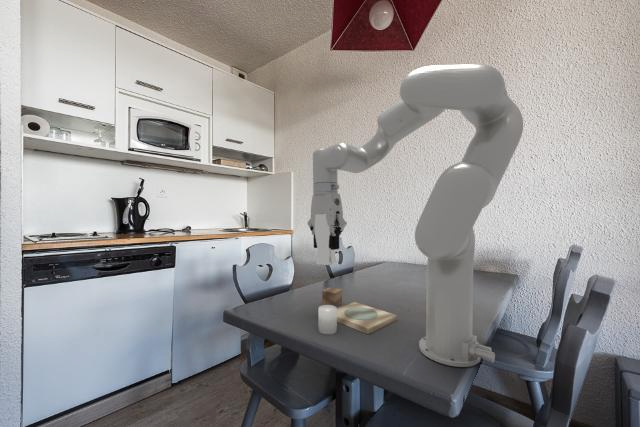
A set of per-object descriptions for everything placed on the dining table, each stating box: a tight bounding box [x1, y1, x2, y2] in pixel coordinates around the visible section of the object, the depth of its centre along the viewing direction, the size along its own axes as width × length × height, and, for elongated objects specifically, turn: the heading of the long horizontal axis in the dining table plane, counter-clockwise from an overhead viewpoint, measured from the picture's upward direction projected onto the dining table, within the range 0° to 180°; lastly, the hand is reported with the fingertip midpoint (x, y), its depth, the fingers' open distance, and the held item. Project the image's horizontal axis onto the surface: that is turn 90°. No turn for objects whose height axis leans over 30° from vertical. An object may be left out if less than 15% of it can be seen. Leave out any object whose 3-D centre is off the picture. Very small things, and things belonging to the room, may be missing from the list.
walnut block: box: [321, 286, 343, 308], centre depth 95 cm, size 5×5×5 cm
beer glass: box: [314, 214, 337, 266], centre depth 83 cm, size 7×7×15 cm
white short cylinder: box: [317, 304, 338, 335], centre depth 73 cm, size 5×5×6 cm
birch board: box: [337, 301, 398, 335], centre depth 82 cm, size 16×14×2 cm
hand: (326, 247), depth 83 cm, fingers closed on beer glass, 6 cm apart
